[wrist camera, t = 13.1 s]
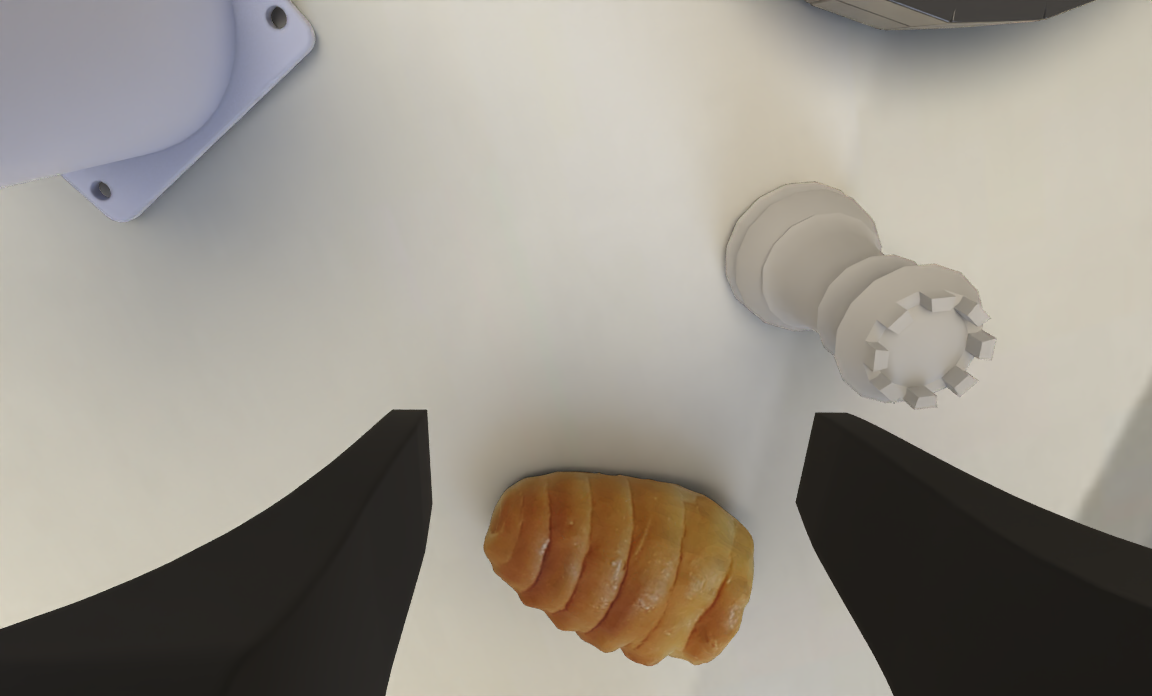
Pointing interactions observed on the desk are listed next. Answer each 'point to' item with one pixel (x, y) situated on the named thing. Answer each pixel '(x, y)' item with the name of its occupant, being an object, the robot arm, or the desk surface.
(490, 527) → the pastry
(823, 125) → the desk surface
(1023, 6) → the pan
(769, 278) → the rook chess piece
